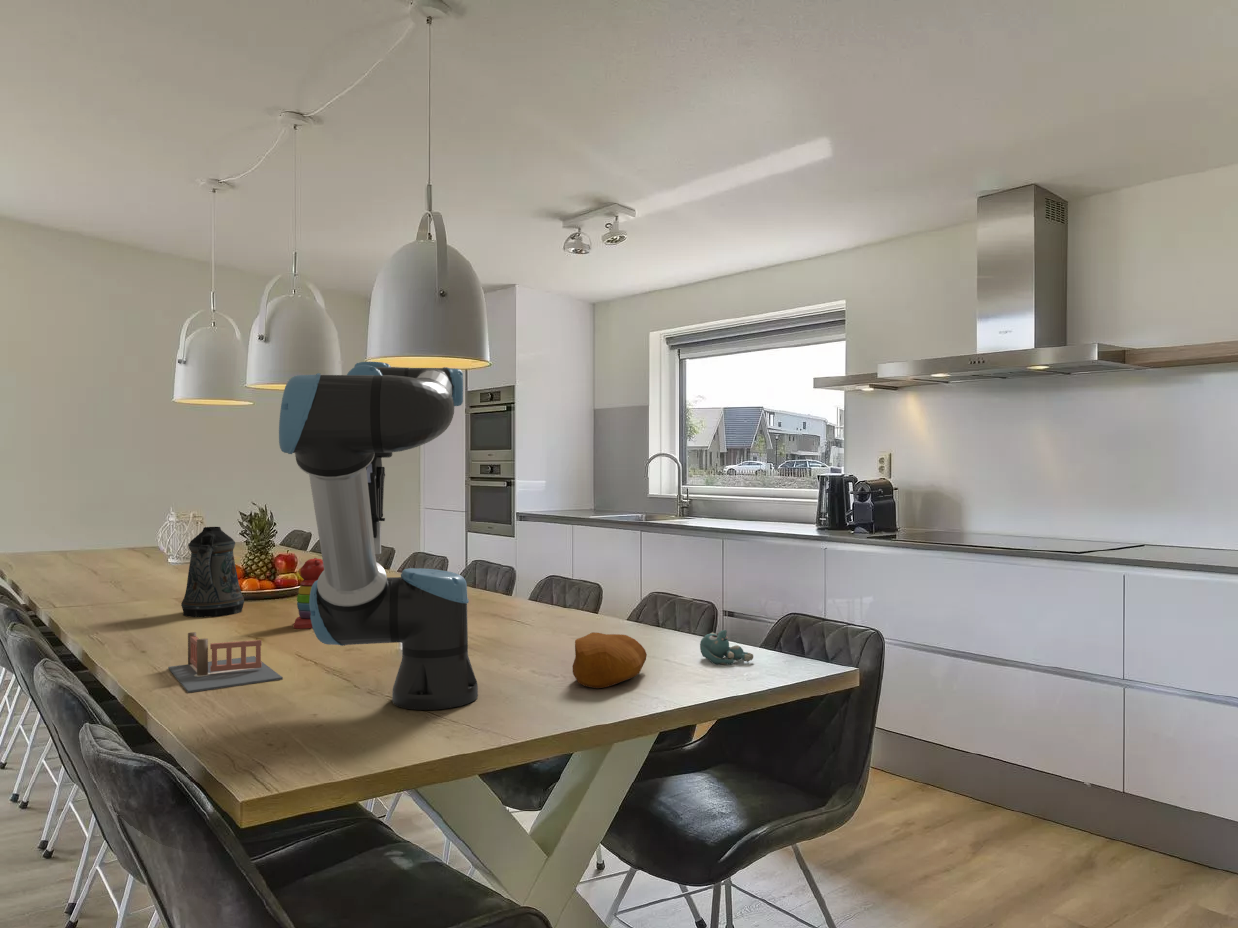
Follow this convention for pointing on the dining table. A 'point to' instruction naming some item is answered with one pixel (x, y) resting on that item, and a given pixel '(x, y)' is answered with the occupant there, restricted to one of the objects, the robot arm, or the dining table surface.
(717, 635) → the stuffed animal
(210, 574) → the beer stein
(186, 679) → the mat
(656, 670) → the dining table surface
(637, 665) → the bread
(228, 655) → the hinged panel
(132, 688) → the dining table surface
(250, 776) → the dining table surface
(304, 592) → the stacking bear
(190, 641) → the fixed panel
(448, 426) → the robot arm
